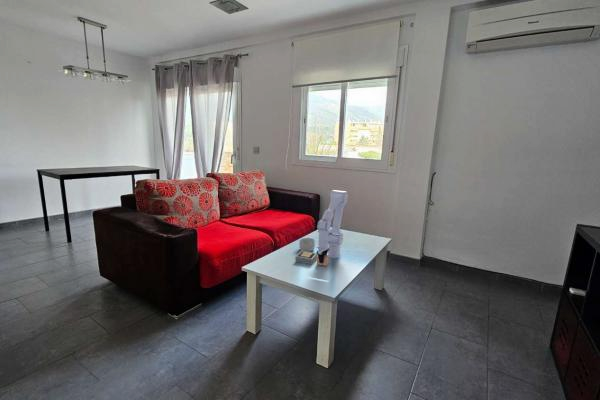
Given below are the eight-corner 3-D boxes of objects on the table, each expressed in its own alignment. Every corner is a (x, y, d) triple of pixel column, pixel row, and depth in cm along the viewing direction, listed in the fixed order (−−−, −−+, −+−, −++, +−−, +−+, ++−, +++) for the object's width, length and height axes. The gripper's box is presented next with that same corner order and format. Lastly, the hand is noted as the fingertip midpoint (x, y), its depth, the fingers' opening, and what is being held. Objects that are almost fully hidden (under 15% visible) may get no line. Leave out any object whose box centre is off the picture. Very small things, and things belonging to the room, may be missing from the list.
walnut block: (303, 257, 180) (303, 252, 179) (312, 259, 177) (312, 253, 177) (300, 261, 174) (300, 255, 173) (309, 262, 172) (309, 256, 171)
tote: (301, 257, 183) (301, 250, 182) (316, 259, 179) (317, 253, 178) (295, 263, 173) (295, 256, 172) (311, 266, 169) (311, 259, 168)
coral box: (318, 261, 173) (319, 253, 172) (328, 263, 171) (328, 255, 170) (316, 264, 169) (316, 256, 168) (326, 265, 167) (326, 258, 166)
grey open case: (311, 254, 187) (312, 243, 186) (296, 252, 191) (296, 241, 189) (317, 247, 200) (317, 237, 199) (303, 245, 204) (303, 235, 202)
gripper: (320, 235, 175) (319, 256, 178) (313, 242, 162) (312, 264, 165) (331, 237, 173) (330, 257, 175) (324, 244, 159) (324, 266, 162)
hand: (322, 261), depth 170 cm, fingers closed on coral box, 4 cm apart
